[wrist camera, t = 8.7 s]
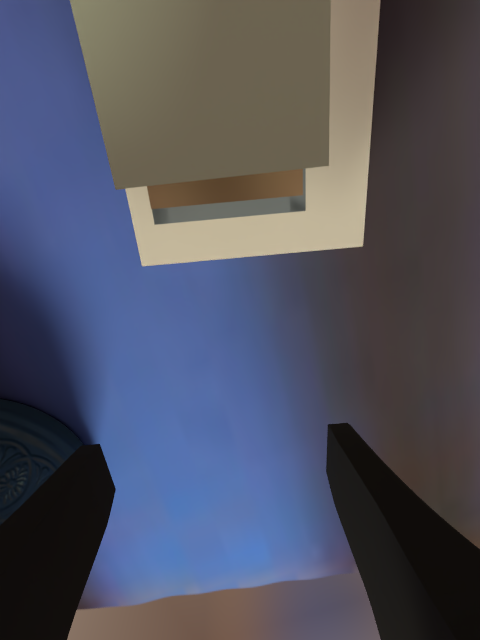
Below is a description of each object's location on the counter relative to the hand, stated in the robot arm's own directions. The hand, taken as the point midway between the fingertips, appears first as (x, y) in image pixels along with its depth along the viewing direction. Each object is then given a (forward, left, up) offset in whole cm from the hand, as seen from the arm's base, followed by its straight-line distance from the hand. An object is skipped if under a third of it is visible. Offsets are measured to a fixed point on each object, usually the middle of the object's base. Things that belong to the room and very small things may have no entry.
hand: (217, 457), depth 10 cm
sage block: (-1, -10, -5) cm, 11 cm away
